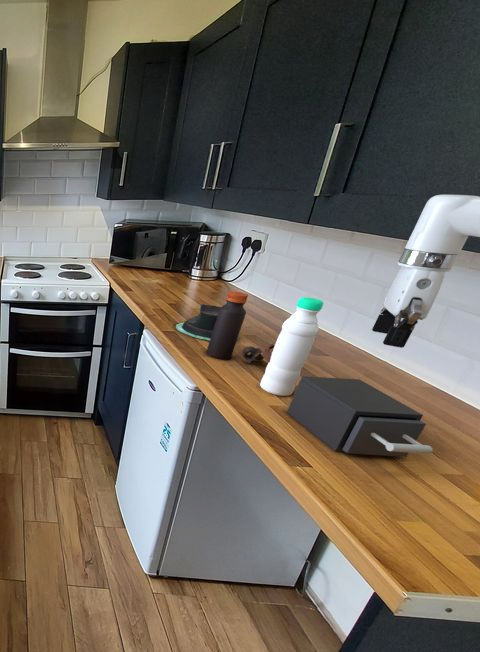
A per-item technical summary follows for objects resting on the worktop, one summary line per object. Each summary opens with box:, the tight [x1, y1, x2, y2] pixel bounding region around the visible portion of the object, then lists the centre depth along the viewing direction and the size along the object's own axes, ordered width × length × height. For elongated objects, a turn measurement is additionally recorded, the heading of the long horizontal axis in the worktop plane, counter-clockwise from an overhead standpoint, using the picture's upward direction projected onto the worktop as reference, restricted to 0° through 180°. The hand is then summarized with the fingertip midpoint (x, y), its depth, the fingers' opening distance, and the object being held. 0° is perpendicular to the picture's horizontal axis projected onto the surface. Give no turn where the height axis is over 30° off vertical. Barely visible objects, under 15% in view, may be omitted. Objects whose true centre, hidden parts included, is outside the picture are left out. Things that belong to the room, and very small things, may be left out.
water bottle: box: [259, 296, 324, 397], centre depth 100 cm, size 7×7×25 cm
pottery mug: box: [241, 343, 275, 365], centre depth 117 cm, size 12×10×8 cm
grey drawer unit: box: [286, 375, 424, 453], centre depth 87 cm, size 15×13×10 cm
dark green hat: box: [175, 303, 240, 341], centre depth 143 cm, size 15×19×20 cm
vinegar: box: [206, 291, 249, 361], centre depth 121 cm, size 7×7×20 cm
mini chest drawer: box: [342, 415, 434, 458], centre depth 82 cm, size 18×12×8 cm, turn 177°
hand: (386, 338), depth 88 cm, fingers open, 9 cm apart
